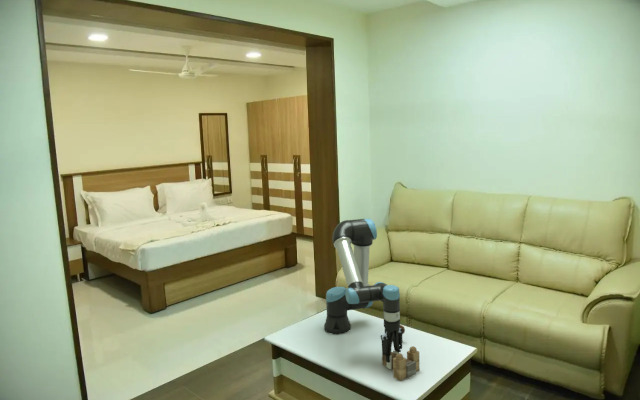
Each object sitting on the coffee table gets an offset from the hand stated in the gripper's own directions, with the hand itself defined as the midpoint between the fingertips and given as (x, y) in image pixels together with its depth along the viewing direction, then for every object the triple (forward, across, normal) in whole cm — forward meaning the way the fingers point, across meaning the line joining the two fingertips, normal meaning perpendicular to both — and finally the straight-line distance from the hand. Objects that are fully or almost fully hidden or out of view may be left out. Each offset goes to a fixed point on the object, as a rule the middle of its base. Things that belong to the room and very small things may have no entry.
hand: (392, 366), depth 208 cm
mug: (0, +22, +18) cm, 29 cm away
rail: (0, 0, -2) cm, 2 cm away
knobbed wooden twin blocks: (0, 0, -8) cm, 8 cm away
